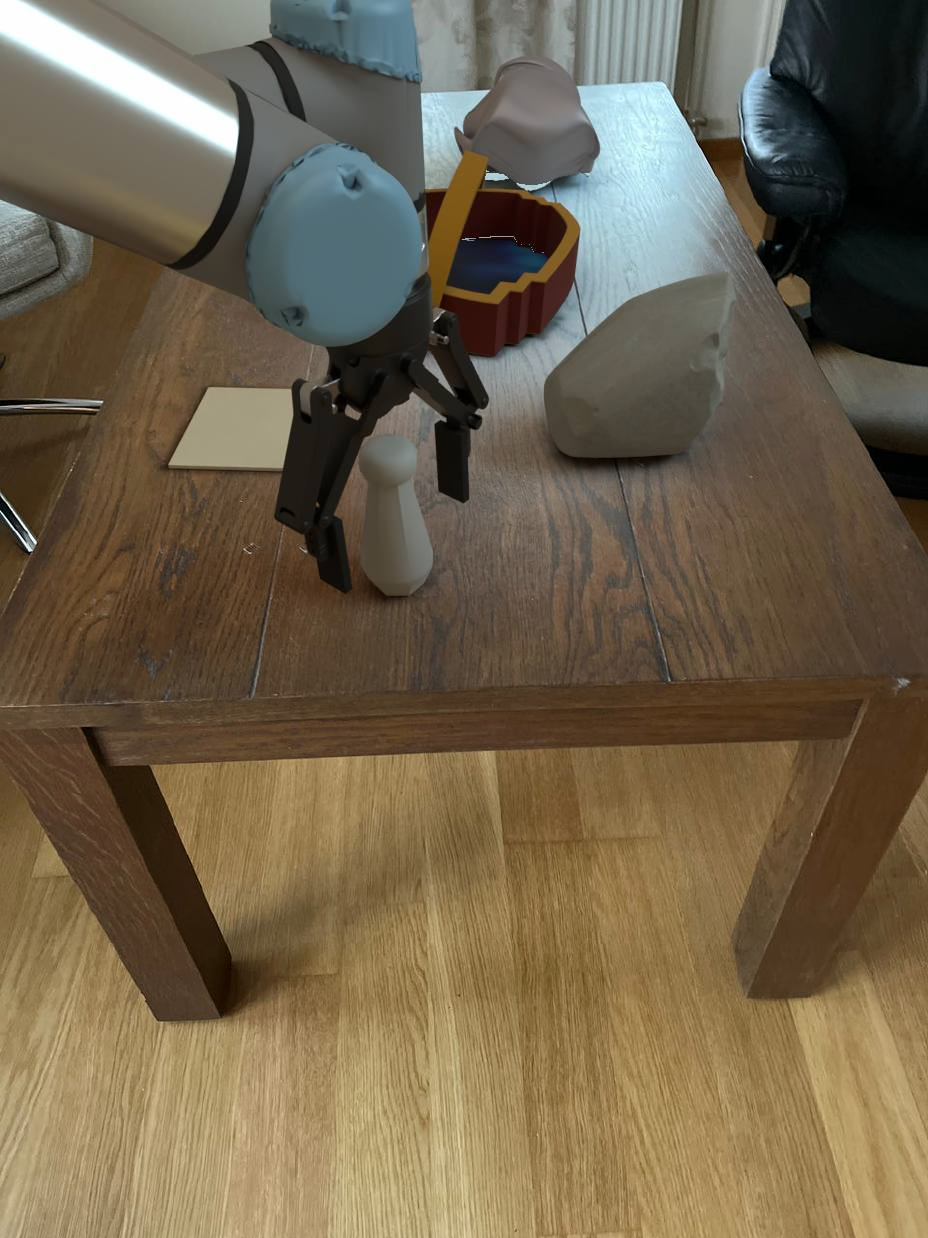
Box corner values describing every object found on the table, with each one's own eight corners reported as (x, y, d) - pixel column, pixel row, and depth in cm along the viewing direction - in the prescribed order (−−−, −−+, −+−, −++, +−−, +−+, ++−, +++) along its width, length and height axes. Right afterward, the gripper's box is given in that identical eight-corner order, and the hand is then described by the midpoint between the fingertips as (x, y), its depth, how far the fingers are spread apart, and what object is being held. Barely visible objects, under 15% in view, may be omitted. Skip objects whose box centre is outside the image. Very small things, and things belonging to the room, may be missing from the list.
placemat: (315, 472, 88) (315, 468, 88) (168, 468, 89) (167, 464, 89) (341, 393, 98) (341, 389, 98) (209, 390, 99) (208, 386, 99)
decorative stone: (531, 415, 94) (536, 268, 84) (696, 395, 96) (721, 249, 86) (563, 486, 86) (572, 332, 75) (743, 462, 88) (777, 309, 77)
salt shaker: (433, 604, 75) (424, 468, 66) (360, 605, 75) (342, 469, 66) (435, 556, 79) (428, 422, 70) (367, 557, 79) (351, 422, 70)
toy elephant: (458, 213, 135) (464, 107, 123) (449, 146, 145) (453, 42, 133) (596, 212, 137) (615, 109, 125) (577, 147, 147) (593, 44, 135)
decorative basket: (542, 390, 102) (571, 254, 91) (284, 329, 104) (283, 189, 93) (583, 261, 126) (610, 142, 115) (373, 214, 128) (380, 93, 117)
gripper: (261, 376, 51) (316, 650, 66) (538, 222, 64) (532, 478, 79) (173, 336, 54) (244, 604, 69) (453, 198, 68) (462, 447, 82)
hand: (397, 537), depth 74 cm, fingers open, 13 cm apart
